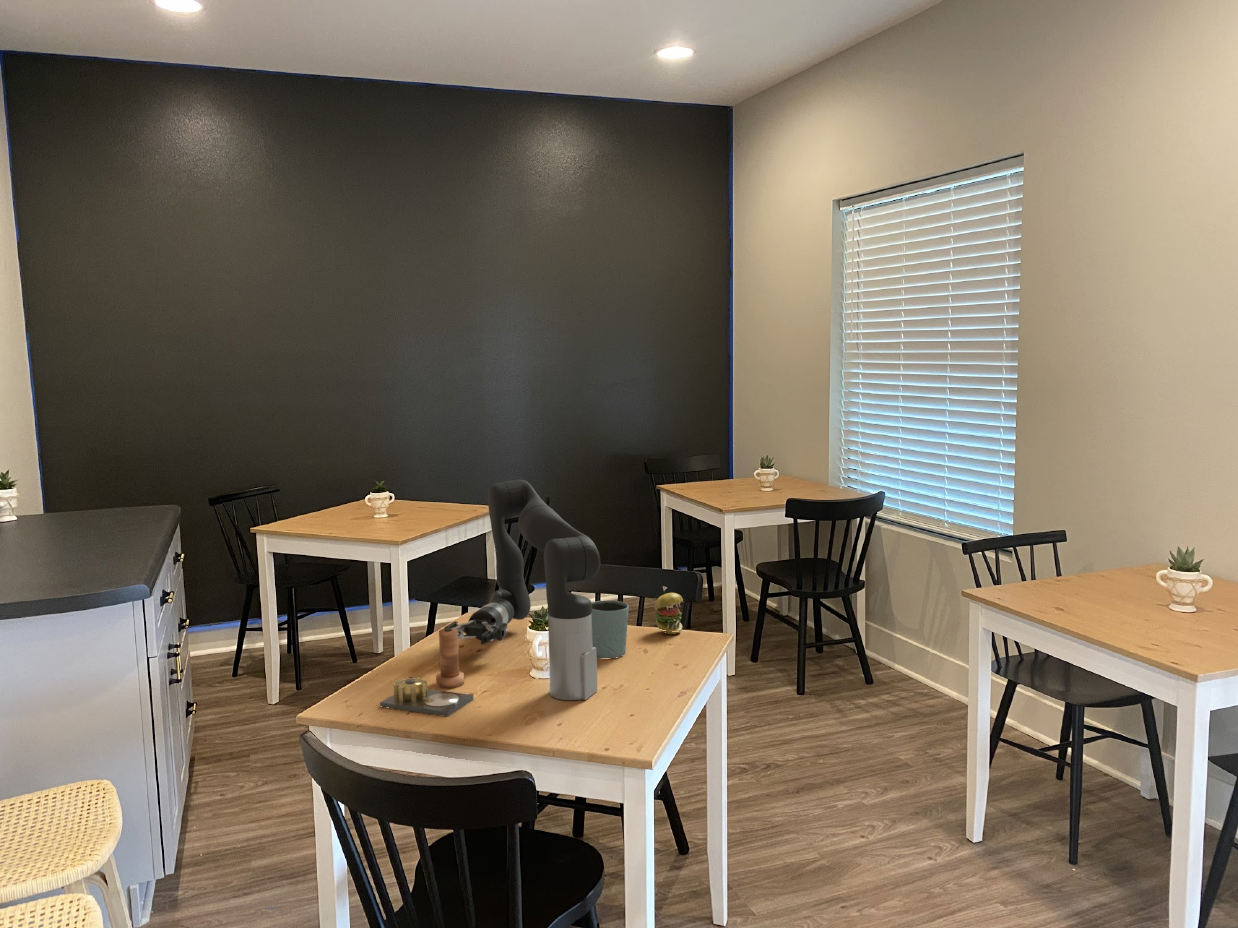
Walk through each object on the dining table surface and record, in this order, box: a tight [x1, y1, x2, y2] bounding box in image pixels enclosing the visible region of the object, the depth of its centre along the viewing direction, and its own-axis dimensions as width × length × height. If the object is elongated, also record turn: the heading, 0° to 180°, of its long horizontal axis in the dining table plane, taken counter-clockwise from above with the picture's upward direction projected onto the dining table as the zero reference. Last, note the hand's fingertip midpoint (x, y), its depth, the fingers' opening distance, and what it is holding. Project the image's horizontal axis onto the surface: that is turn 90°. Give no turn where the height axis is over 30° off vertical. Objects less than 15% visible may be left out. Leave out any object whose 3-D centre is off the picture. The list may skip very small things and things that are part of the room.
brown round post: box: [435, 628, 465, 690], centre depth 200 cm, size 6×6×12 cm
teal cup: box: [591, 600, 630, 659], centre depth 219 cm, size 10×10×12 cm
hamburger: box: [654, 585, 684, 635], centre depth 237 cm, size 8×7×12 cm
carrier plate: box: [379, 688, 474, 717], centre depth 188 cm, size 16×10×1 cm, turn 69°
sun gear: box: [392, 676, 428, 702], centre depth 190 cm, size 7×7×3 cm
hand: (464, 639), depth 209 cm, fingers open, 8 cm apart
